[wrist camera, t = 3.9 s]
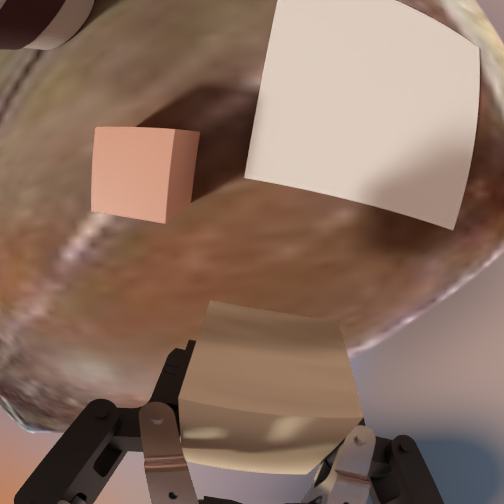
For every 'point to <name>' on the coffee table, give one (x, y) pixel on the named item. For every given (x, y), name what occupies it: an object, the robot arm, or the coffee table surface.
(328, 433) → the maple block
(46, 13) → the coffee cup
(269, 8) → the coffee table surface
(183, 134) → the terracotta block
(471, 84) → the base plate
